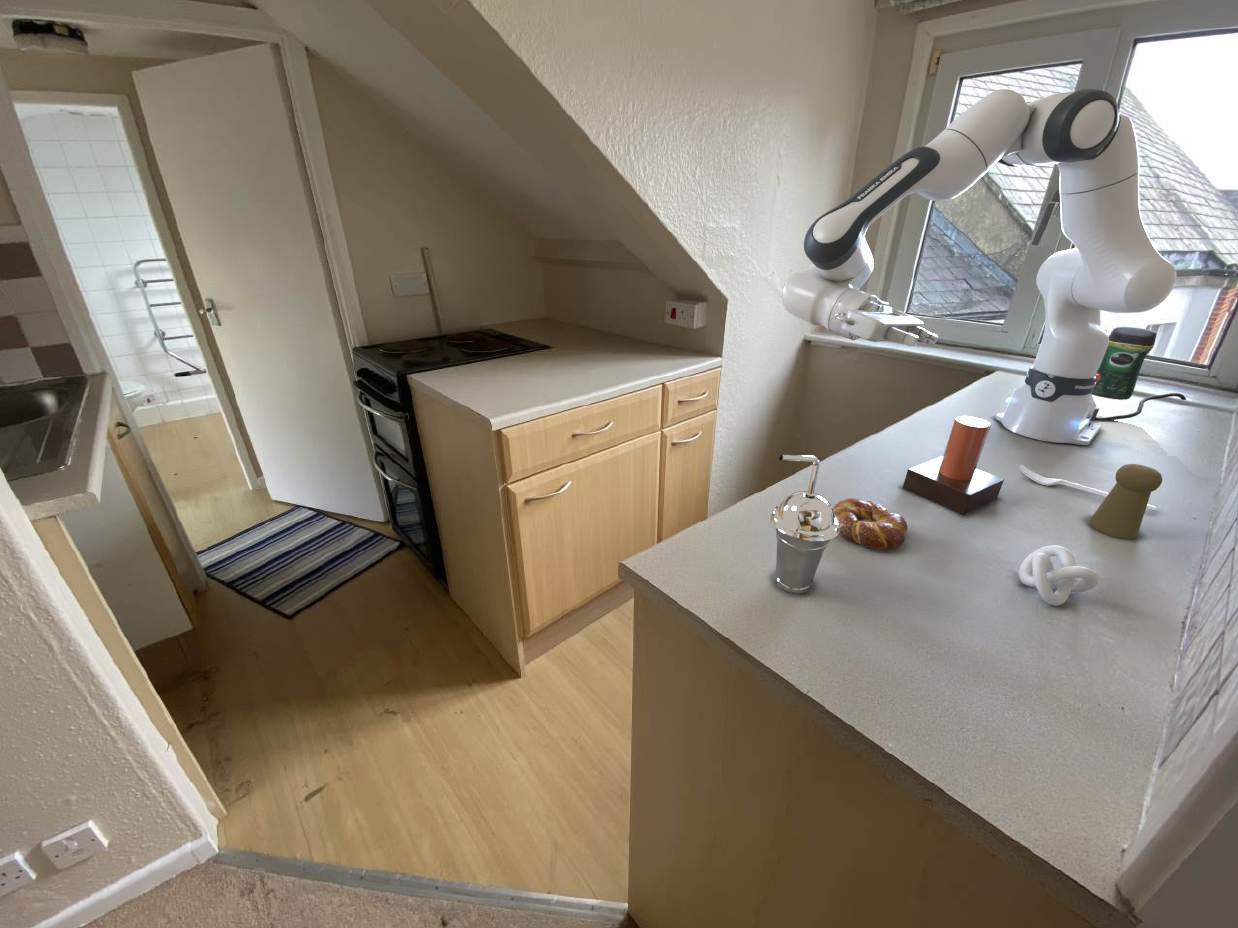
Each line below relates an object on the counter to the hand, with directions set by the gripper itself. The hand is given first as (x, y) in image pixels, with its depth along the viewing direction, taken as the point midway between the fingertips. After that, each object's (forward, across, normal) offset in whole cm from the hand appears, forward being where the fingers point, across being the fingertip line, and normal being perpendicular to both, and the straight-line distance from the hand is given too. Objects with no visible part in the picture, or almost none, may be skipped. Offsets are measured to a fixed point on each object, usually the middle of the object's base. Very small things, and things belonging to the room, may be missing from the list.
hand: (925, 341), depth 94 cm
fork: (+31, +19, +18) cm, 41 cm away
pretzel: (+12, -24, +26) cm, 38 cm away
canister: (+15, -1, +19) cm, 24 cm away
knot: (+35, -20, +22) cm, 46 cm away
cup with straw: (+12, -44, +29) cm, 54 cm away
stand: (+16, 0, +23) cm, 28 cm away
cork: (+37, +8, +18) cm, 42 cm away
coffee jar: (+21, +93, +10) cm, 96 cm away
